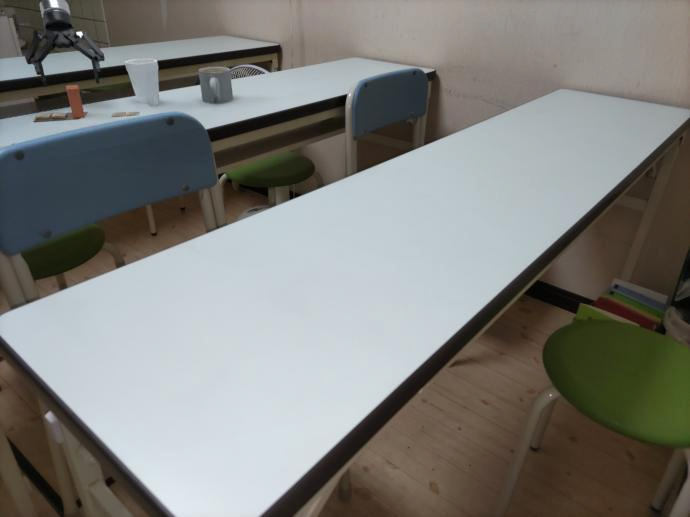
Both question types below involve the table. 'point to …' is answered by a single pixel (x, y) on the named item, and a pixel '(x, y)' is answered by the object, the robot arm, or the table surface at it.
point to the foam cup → (144, 80)
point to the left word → (55, 117)
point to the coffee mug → (216, 84)
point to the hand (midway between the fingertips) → (71, 82)
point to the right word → (123, 114)
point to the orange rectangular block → (75, 101)
